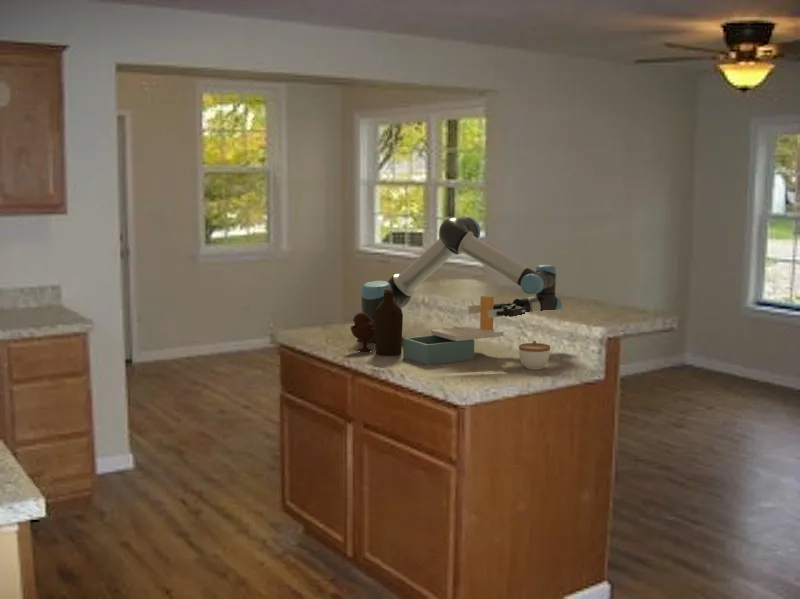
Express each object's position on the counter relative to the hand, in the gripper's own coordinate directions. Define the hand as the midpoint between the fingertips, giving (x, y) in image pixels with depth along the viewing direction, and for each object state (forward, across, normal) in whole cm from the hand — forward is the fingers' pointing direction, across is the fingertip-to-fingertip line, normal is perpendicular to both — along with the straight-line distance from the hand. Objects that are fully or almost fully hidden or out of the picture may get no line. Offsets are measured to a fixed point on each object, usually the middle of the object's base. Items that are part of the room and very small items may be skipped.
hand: (478, 311), depth 330 cm
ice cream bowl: (+31, +30, -17) cm, 47 cm away
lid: (+5, 0, -8) cm, 10 cm away
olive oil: (+28, +17, -17) cm, 37 cm away
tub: (+17, 0, -16) cm, 24 cm away
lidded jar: (-5, -27, -17) cm, 32 cm away
